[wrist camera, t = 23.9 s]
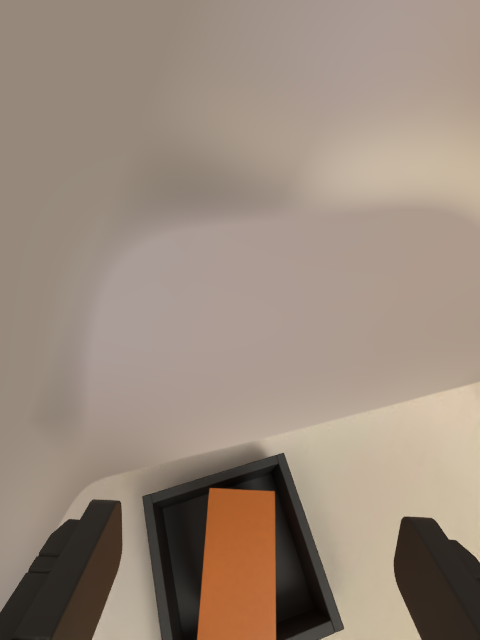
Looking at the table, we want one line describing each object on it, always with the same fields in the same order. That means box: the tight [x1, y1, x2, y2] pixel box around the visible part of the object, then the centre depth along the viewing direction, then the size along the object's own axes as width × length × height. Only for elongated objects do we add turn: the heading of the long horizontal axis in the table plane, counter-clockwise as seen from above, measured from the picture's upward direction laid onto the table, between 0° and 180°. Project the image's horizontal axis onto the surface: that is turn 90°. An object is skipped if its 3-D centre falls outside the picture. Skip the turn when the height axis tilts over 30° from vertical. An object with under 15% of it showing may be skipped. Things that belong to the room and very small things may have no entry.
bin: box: [142, 453, 344, 640], centre depth 32 cm, size 14×14×7 cm
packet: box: [197, 488, 276, 640], centre depth 30 cm, size 5×9×12 cm, turn 178°
